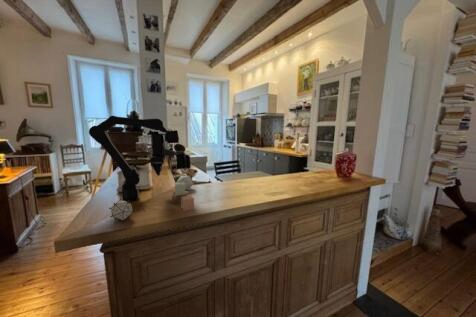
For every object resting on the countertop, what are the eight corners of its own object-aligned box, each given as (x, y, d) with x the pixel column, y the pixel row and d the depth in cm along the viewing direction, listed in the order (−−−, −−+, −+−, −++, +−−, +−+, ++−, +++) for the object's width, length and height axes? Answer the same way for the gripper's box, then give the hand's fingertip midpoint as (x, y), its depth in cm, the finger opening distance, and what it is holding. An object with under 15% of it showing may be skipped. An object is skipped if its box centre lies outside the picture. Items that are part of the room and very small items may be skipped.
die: (184, 194, 111) (194, 179, 113) (171, 185, 112) (181, 170, 114) (188, 194, 120) (197, 180, 121) (175, 186, 120) (185, 172, 122)
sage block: (175, 192, 100) (174, 182, 100) (184, 191, 102) (184, 182, 101) (175, 195, 96) (175, 185, 95) (185, 194, 98) (184, 184, 97)
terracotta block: (184, 210, 88) (183, 200, 87) (181, 207, 92) (180, 196, 91) (194, 208, 90) (193, 198, 89) (190, 205, 94) (190, 195, 93)
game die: (120, 227, 81) (117, 203, 84) (140, 219, 81) (137, 196, 85) (104, 226, 72) (102, 200, 76) (126, 217, 73) (123, 192, 76)
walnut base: (171, 204, 96) (171, 196, 95) (173, 199, 102) (173, 191, 102) (187, 203, 97) (186, 195, 96) (187, 198, 104) (187, 191, 103)
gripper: (173, 145, 96) (175, 176, 99) (174, 142, 114) (175, 169, 116) (148, 145, 93) (150, 178, 96) (153, 142, 111) (154, 170, 113)
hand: (159, 173), depth 105 cm, fingers open, 9 cm apart
